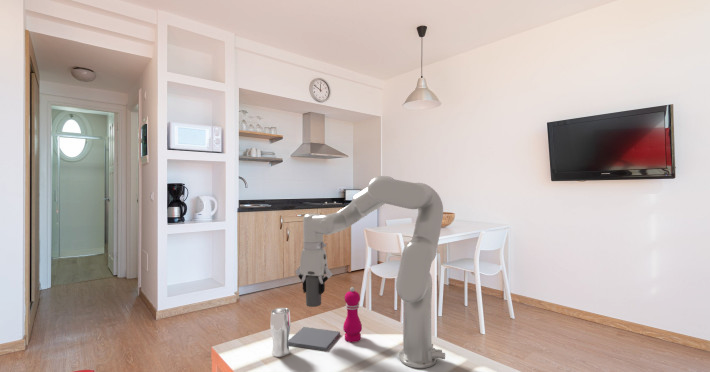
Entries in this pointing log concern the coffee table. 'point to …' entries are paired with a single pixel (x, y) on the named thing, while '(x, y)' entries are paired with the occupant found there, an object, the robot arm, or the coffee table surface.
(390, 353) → the coffee table surface
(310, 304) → the bottle
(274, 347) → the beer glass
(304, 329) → the mat
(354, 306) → the pepper mill
